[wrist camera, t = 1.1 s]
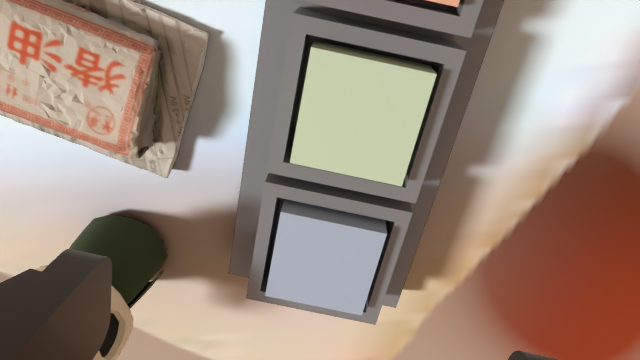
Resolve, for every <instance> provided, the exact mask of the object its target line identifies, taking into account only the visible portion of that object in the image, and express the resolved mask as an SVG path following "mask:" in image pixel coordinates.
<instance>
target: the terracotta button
mask: <svg viewBox="0 0 640 360" xmlns="http://www.w3.org/2000/svg"><path fill="white" fill-rule="evenodd" d="M427 1H432V2H436V3H441V4H445V5H450V6H455V7H458V5H459V2H460V0H427Z"/></svg>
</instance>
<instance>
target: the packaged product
mask: <svg viewBox="0 0 640 360" xmlns="http://www.w3.org/2000/svg"><path fill="white" fill-rule="evenodd" d="M209 34H210V33H208V32H205V31H203V30H201V29H199V28H196V27H194V26H192V25H190V24H188V23H185V22H183V21H181V20H178V19H176V18H174V17H171V16H169V15H167V14H164V13H162V12H160V11H157V10H155V9H153V8H150V7H148V6H146V5H143V4H140V3H137V2H134V1H131V0H0V115H2V116H5V117H8V118H11V119H13V120H14V121H16V122H19V123H22V124H25V125H29V126H32V127H34V128H36V129H38V130H41V131H43V132H46V133H49V134H52V135H55V136H57V137H60V138H63V139H65V140H68V141H70V142H73V143H76V144H80V145H83V146H85V147H87V148H89V149H91V150H94V151H96V152H99V153H101V154H104V155H106V156H109V157H112V158H115V159H118V160H120V161H122V162H125V163H128V164H131V165H134V166H136V167H138V168H141V169H145V170H147V171H150V172H153V173H155V174H157V175H159V176H162V177H164V178H168V176H169V174H170V172H171V170H172V167H173V165H174V163H175V160H176V158H177V156H178V152H179V148H180V144H181V140H182V136H183V132H184V128H185V124H186V121H187V118H188V115H189V112H190V109H191V105H192V102H193V99H194V96H195V93H196V90H197V86H198V83H199V80H200V77H201V74H202V70H203V66H204V62H205V56H206V51H207V45H208V39H209Z"/></svg>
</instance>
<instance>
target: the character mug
mask: <svg viewBox="0 0 640 360" xmlns="http://www.w3.org/2000/svg"><path fill="white" fill-rule="evenodd" d="M69 249H74V250H79V251H83V252H87V253H92V254H96V255H101V256H105V257H109V258H110V259H111V262H112V287H111V317H110V324H109V328H108V331H107V334H106V337H105V340H104V342H103V344H102V346H101V348H100V349H99V351H98V353H97V354H96V356H95V357H94V358H93V360H116V359H117V358H118V356H119V354H120V353H121V351H122V349H123V347H124V346H125V344H126V342H127V341H128V338H129V336H130V333H131V330H132V328H133V317H132V314H131V311H130V308H131V307H132V306H133V305H134V304H135V303H136V302H137V301H138V300H139V299H140V298H141V297H142V296H143V295H144V294H145V293H146V292H147V291H148V290H149V288H150V287H151V286H152V285H153V284H154V283H155V281H156V280H157V279H158V278H159V276H160V275H161V274H162V273H163V270H164V269H163V270H162V272H161V273H160V274H159V275H158V276H157V277H156V278H155V279H154V280H153V281H150V282H149V280H150V279H151V278H152V277H153V276H154V275H155V273H156V272H157V271H158V270H159V268H160V267H161V266H162V264H163V263H164V262H165V261H166V259H167V253H166V250H165V247H164V243H163V240H162V239H161V238H160V237H159V236H158V235H157V234H156V232H155V231H154V230H153V229H152V228H151V227H150V226H149V225H146V224H144V223H142V222H139V221H137V220H134V219H132V218H128V217H122V216H115V215H108V216H103V217H99V218H95V219H94V220H93V221H92V222H91V223H90V224H89V225H88V226H87V227H86V228H85V229H84V230H83V231H82V233H81V234H80V235H79V236H78V238H77V239H76V240H75V241H74V243H73V244H72V245H71V247H70V248H69ZM47 266H48V265H47ZM47 266H41V267H39V268H38V269H36V270H38V271H43V270H44V269H45V268H46V267H47Z"/></svg>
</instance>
